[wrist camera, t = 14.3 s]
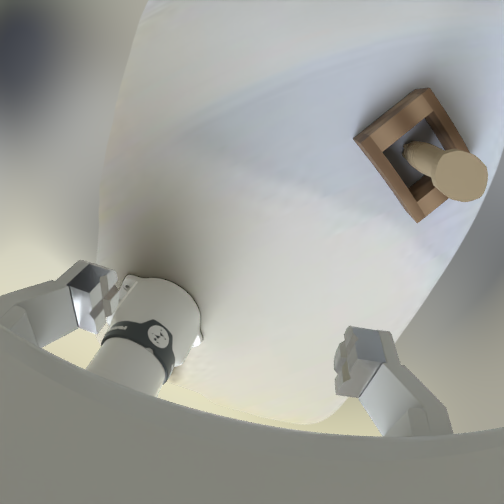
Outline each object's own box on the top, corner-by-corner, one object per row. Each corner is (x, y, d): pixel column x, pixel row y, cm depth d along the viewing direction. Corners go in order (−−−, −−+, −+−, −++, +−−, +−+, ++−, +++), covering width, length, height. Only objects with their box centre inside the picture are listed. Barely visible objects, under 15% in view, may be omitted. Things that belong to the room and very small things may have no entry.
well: (405, 210, 40) (417, 223, 35) (352, 138, 37) (360, 143, 32) (462, 163, 35) (479, 171, 30) (415, 89, 32) (429, 87, 27)
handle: (392, 130, 35) (440, 144, 22) (433, 139, 34) (491, 160, 21) (388, 164, 37) (431, 195, 24) (428, 172, 36) (481, 206, 23)
